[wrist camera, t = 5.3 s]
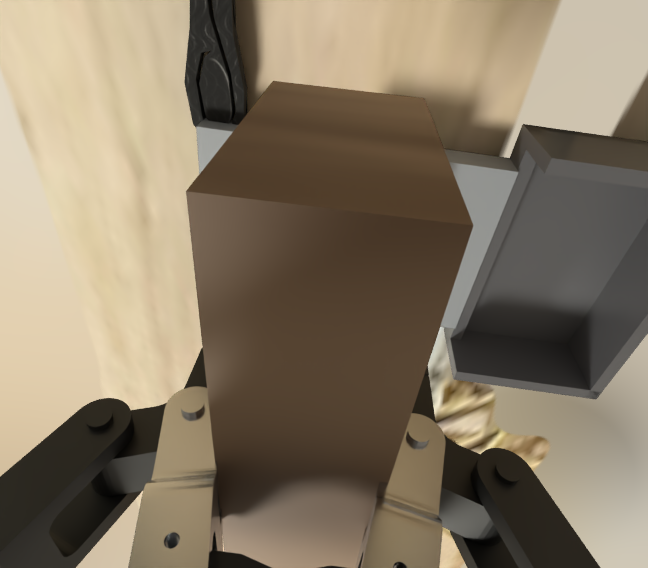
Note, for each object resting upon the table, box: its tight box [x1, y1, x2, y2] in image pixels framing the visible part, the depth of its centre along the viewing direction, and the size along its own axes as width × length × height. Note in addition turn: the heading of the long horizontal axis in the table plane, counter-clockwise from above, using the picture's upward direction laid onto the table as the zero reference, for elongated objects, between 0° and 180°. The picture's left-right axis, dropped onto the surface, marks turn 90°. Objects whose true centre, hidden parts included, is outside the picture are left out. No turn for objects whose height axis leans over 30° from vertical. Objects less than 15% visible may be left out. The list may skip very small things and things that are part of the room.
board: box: [196, 118, 519, 329], centre depth 29 cm, size 12×18×2 cm, turn 84°
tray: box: [444, 124, 648, 399], centre depth 28 cm, size 16×10×5 cm, turn 174°
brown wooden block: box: [186, 81, 474, 568], centre depth 12 cm, size 14×4×6 cm, turn 175°
